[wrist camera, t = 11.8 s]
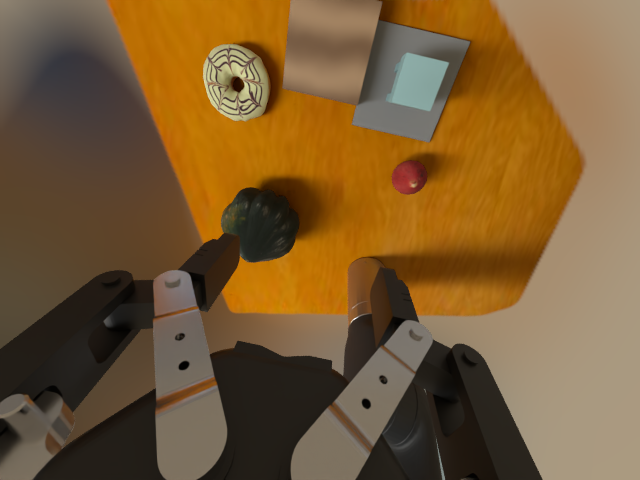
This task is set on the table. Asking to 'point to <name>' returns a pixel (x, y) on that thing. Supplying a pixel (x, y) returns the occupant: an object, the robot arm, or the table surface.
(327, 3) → the brown wooden square block
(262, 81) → the decorated donut
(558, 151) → the table surface
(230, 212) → the squash
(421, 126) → the mat
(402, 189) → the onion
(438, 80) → the two-pronged teal block
